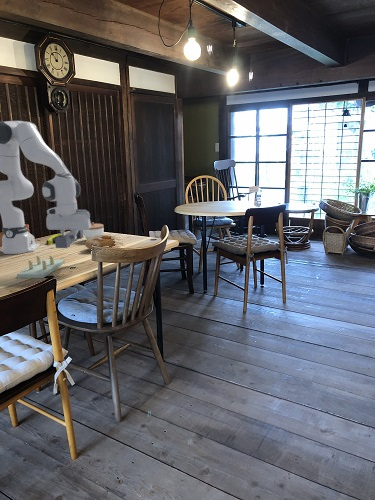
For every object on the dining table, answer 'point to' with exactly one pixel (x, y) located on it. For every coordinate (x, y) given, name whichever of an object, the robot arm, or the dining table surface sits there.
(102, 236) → the nautilus
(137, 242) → the dining table surface
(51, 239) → the stun gun
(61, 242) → the grey long bar
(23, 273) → the rack
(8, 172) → the robot arm
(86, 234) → the lidded bowl
